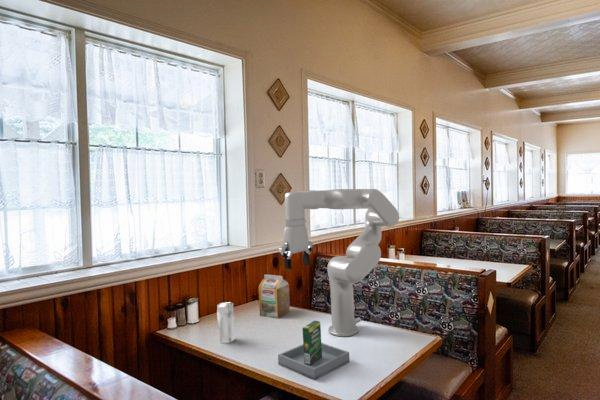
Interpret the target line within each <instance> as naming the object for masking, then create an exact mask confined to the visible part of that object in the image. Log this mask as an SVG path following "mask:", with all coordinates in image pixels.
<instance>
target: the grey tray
mask: <svg viewBox="0 0 600 400" xmlns="http://www.w3.org/2000/svg"><path fill="white" fill-rule="evenodd" d="M321 346H322V357H321V358H320V359H319V360H317V361H316V362H315V363H313V364H312V365H311V366H310V365H306V364H304V346H303V343H302V344H300V345H297V346H295V347H293V348H291V349H289V350H286V351H283V352H281V353H279V354H277V363H278V365H279V366H281V367H283V368H286V369H288V370H290V371H293V372H294V373H298V374H299V375H301V376H304V377H305V378H308V379H311V380H313V381H317V380H318V379H319V378H321V377H323V376H325V375H327V374H329V373H331V372H333V371H336V370H337V369H339V368H341V367H343V366H345V365H347V364H349V363H350V362H351V361H350V351H347V350H344V349H342V348H339V347H335V346H332V345H329V344H326V343H324V342H321Z"/></svg>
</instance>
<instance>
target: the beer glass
mask: <svg viewBox="0 0 600 400" xmlns="http://www.w3.org/2000/svg"><path fill="white" fill-rule="evenodd" d="M216 307H217V308H216V319H217V324H218V327H219V333H220V334H219V343H221V344H230V343H233V342H234V341H235V339H236V338H235V335H234V325H235V324H234V323H235V307H234V303H233V302H230V301H229V302H227V301H224V302H219V303H218V304H217V305H216Z"/></svg>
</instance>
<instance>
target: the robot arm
mask: <svg viewBox="0 0 600 400" xmlns="http://www.w3.org/2000/svg"><path fill="white" fill-rule="evenodd" d="M284 207H285V208H284V210H285V213H284V214H285V227H284V229H283V237H282V245H281V246H279V248H278V252H279V253H280V256H281V257H282V259H284V268H285V270H292V267H293V266H292V259H291V257H292V255H293V254H298V253H303V254H302V264H303V265H304V266H309V265H310V255H311V252H312V251H313V246H314V242H312V241H310V240H309V235H308V233H309V232H308V228H307V226H306V223H307V220H306V214H305V212H306V211H305V210H318V209H327V210H328V209H329V210H359V209H361V210H362V209H366V212H365V218H364V221H365V225H364V226H365V228H364V229H363V231H362V232H361V233H360V235H358V236H357V237H356V238H355V239H354V240H353V241H352V242H351V243H350V244H349V245H348V247H347V248H346V252H345V254H346V256H342V255H341V256H340V255H338V256H333V257H331V258H330V259H329V261H328V264H327V266H326V268H327V269H326V270H327V276H328V281H329V288H330V312H331V313H330V314H331V325H330V326H329V327H328V330H327V331H328V334H330V335H332V336H336V337H351V336H354V335H356V334H358V333H359V332H360V331H359V326H357V323H360V322H361V321H362V318H361V317H357V318H356V317H355V304H354V303H355V302H354V301H355V300H354V299H355V298H354V287H353V284H357V283H359V282H361V281H363V279H364V278H366V276H367V275H369V274H370V272H371V271H373V269H374V268H375V267H376V266H377V265H378V263H379V262H380V260H381V257H382V250H381V248H380V246H379V244H380V242H381V240H382V236H383V235H382V227H385V228H392V227H395V226H396V225H397V224H398V223H399V220H400V213H399V212H398V209H397V208H396V207H395V206H394V204H393V203H392V202H391V201H390V200H389V199H388V198H387V197H386V196H385V194H383V193H382V192H381V191H380V190H378V189H377V188H335V189H326V190H322V189H321V190H314V189H313V190H300V191H290V192H289V191H288V192H286V193H285V194H284Z"/></svg>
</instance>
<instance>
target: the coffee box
mask: <svg viewBox="0 0 600 400" xmlns="http://www.w3.org/2000/svg"><path fill="white" fill-rule="evenodd" d="M321 332H322V330H321V321H319V320H313V321H311V322H310V323H309V324H308V323H307V324H306V325H305V326H303V327H302V344H303V346H304V364H306V365H310V366H311V365H312V364H313V363H315V362H316V361H317V360H319V359H320V358H321V357H322V346H321V343H322V333H321Z"/></svg>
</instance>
